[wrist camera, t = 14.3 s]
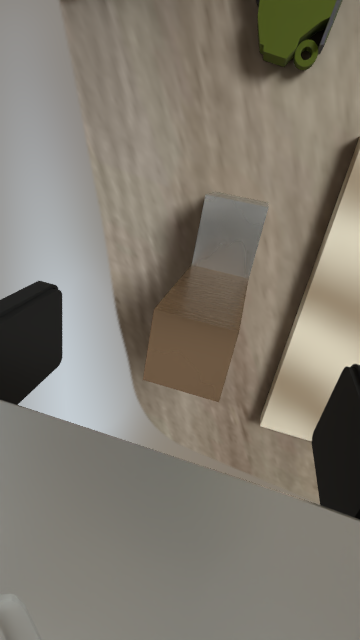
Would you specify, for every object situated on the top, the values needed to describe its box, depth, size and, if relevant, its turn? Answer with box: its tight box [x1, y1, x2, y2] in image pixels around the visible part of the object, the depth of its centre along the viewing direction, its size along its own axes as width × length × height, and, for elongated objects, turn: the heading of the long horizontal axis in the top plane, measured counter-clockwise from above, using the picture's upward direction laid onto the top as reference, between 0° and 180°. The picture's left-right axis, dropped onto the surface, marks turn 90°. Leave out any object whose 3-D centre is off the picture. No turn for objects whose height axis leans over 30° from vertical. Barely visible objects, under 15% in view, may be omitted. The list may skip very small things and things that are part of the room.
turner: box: [143, 192, 268, 402], centre depth 16 cm, size 10×3×10 cm, turn 170°
